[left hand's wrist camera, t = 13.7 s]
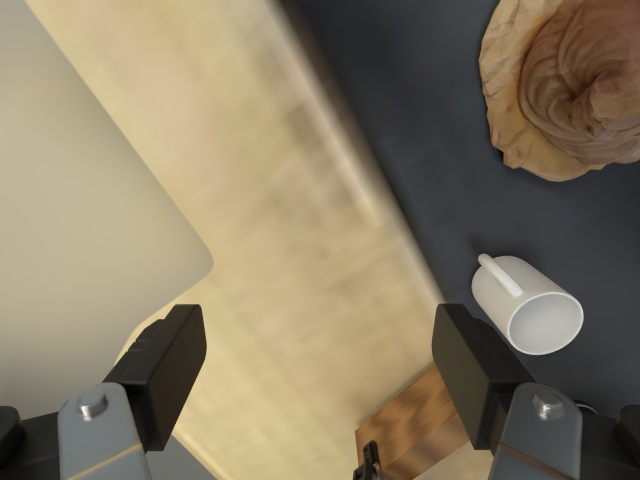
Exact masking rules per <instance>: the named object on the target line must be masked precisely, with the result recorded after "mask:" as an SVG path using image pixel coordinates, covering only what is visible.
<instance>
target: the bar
mask: <svg viewBox="0 0 640 480" xmlns="http://www.w3.org/2000/svg"><path fill="white" fill-rule="evenodd" d="M355 435H356V445H357V455H358V464H359V467H360V466H361V465H362V464H364V458H363V447H364V446H365V445H366V444H367V443H369V442H370V441H371V440H373V441H375V442H376V443H377V447H378V453H379V459H380V467H381V469H382V472H383V475H384V478H385V480H413V479H414V478H416V477H417V476H419V475H420V474H422V473H423V472H424V471H426V470H427V469H429V468H430V467H432V466H433V465H435V464H436V463H437V462H439V461H440V460H442V459H443V458H445V457H446V456H447V455H449V454H450V453H452V452H453V451H455V450H456V449H458V448H459V447H460V446H462V445H463V444H465V443H466V442H468V441H469V440H470V439H469V437H468V434H467V432H466V430H465V428H464V426H463V423H462V421H461V419H460V417H459V414H458V412H457V410H456V408H455V406H454V403H453V401H452V399H451V397H450V395H449V392H448V390H447V388H446V386H445V384H444V381H443V379H442V377H441V375H440V373H439V370H438V368H437V366H435V367H434V368H433V369H432V370H430V371H429V372H428V373H427V374H425V375H424V376H423V377H422V378H420V379H419V380H418V381H417V382H415V383H414V384H413V385H412V386H410V387H409V388H408V389H407V390H405V391H404V392H403V393H402V394H400V395H399V396H398V397H397V398H395V399H394V400H393V401H392V402H390V403H389V404H388V405H387V406H385V407H384V408H383V409H382V410H380V411H379V412H378V413H377V414H375V415H374V416H373V417H372V418H370V419H369V420H368V421H367V422H365V423H364V424H363V425H362V426H360V427H359V428H358V429H357V430H355ZM372 480H377V478H376V475H375V476H374V477H373V478H372Z"/></svg>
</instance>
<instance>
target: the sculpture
mask: <svg viewBox="0 0 640 480" xmlns="http://www.w3.org/2000/svg"><path fill="white" fill-rule="evenodd" d="M478 63H479V70H480V76H481V82H482V85H483V94H484V95H485V99H486V104H487V106H488V111H487V119H488V123H489V126H490V135H491V143H492V145H493V146H494V147H496V148H498V149H499V150H501V151H503V152H504V164H505V165H507V166H509V167H511V168H512V169H515V168H518V167H521V168H523V169H525V170H527V171H529V172H531V173H533V174H535V175H537V176H539V177H542V178H544V179H546V180H549V181H556V182H561V181H566V180H570V179H574V178H576V177H579V176H581V175H583V174H585V173H586V172H587V171H589V170H590V169H594V170H601V169H602V168H603V167H604V166H605V165H606V164H610V163H612V162H616V163H625V164H628V163H632V162H636V161H637V160H639V159H640V0H501V1H500V3H499V4H498V6H497V7H496V9H495V10H494V12H493V15H492V18H491V20H490V23H489V25H488V28H487V30H486V33H485V35H484V37H483V40H482V48H481V53H480V57H479V62H478Z"/></svg>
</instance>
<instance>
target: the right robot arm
mask: <svg viewBox="0 0 640 480" xmlns="http://www.w3.org/2000/svg"><path fill="white" fill-rule="evenodd" d="M574 402H575V404H576V405H577V406H578V407H579V409H580V411H583V412H587V413H591V414H596V415H598V413H597V412H596V411H595V410H594V409H593V408H592V407H591V406H590V405H588V404H587V403H584V402H580V401H574ZM363 458H364V464H362V465H361V466H360V467H358V468H357V469H356V470H354V474H353V480H372V478H373V477H374V476H375V475H376V478H377V480H385V478H384V475H383V472H382V469H381V467H380V459H379V453H378V447H377V443H376V442H375V441H373V440H371V441H370V442H369V443H367V444H366V445H365V446H364V447H363Z"/></svg>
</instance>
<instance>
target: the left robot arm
mask: <svg viewBox="0 0 640 480" xmlns="http://www.w3.org/2000/svg"><path fill="white" fill-rule="evenodd" d="M206 349H207V343H206V336H205V329H204V322H203V315H202V309H201V306H200V305H199V304H176V305H175V306H174V307H173V308H172V309H171V311H170V312H169V313H168V315H167V316H166V317H165V319H158V320H157V321H155V322H154V323H152V324H151V325H149V326H148V327H146V328H145V329H144V330H143V331H142V333H141V334H140V335H139V336H138V338H137V339H136V342H134V343H133V344H132V345H131V346H130V348H129V349H128V352H126V353H125V354H124V355H123V356H122V358H121V359H120V360H119V361H118V363H117V364H116V365H115V366H114V368H113V369H112V370H111V372H110V373H109V374H108V375H107V377H106V378H105V379H104V380H103V382H102V383H100V384H96V385H93V386H90V387H88V388H85V389H83V390H82V391H80V392H78V393H76V394H75V395H73V396H72V397H71V398H70V399H69V400H68V401H66V402H65V404H64V405H63V406H62V407H61V409H60V411H58V412H55V413H51V414H47V415H43V416H39V417H34V418H30V419H26V420H21V418H20V416H19V413H18V411H17V410H16V409H15V408H13V407H10V406H0V480H152V477H151V473H150V470H149V467H148V463H147V460H146V457H145V455H146V453H147V451H163V450H164V448H165V446H166V443H167V441H168V439H169V437H170V435H171V433H172V430H173V428H174V426H175V424H176V422H177V419H178V417H179V415H180V413H181V411H182V409H183V406H184V404H185V402H186V400H187V398H188V395H189V393H190V391H191V389H192V387H193V385H194V382H195V380H196V378H197V376H198V374H199V372H200V369H201V367H202V365H203V363H204V360H205V356H206ZM432 354H433V359H434V361H435V364H436V366H437V368H438V370H439V373H440V375H441V377H442V379H443V381H444V384H445V386H446V388H447V390H448V392H449V395H450V397H451V399H452V401H453V403H454V406H455V408H456V410H457V412H458V414H459V417H460V419H461V421H462V423H463V426H464V428H465V430H466V432H467V434H468V437H469V439H470V441H471V443H472V445H473V448H474V450H490V451H491V453H492V455H493V457H494V460H493V463H492V467H491V470H490V473H489V477H488V480H640V405H627V406H625V407H623V408H622V409H621V411H620V414H619V416H618V418H617V419H612V418H608V417H604V416H600V415H596V414H591V413H587V412H583V411H580V409H579V407H578V406H577V405H576V404H575V402H574V401H572V400H571V399H570V398H569V397H568V396H567V395H565V394H564V393H562V392H560V391H558V390H557V389H555V388H552V387H550V386H547V385H544V384H540V383H536V381H535V380H534V379H533V378H532V376H531V375H530V374H529V373H528V371H527V370H526V369H525V368H524V366H523V365H522V364H521V362H520V361H519V360H518V359H517V357H516V356H515V355H514V354H513V352H512V351H510V350H509V347H508V346H507V345H506V343H505V342H504V341H502V338H501V337H500V336H499V335H498V333H497V332H496V331H495V330H494V328H492V327H491V326H490V325H488V324H487V323H485V322H484V321H482V320H481V319H474V318H473V317H472V316H471V314H470V313H469V311H468V310H467V309H466V307H465V306H464V305H463V304H439V305H438V306H437V309H436V316H435V323H434V330H433V337H432Z"/></svg>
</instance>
